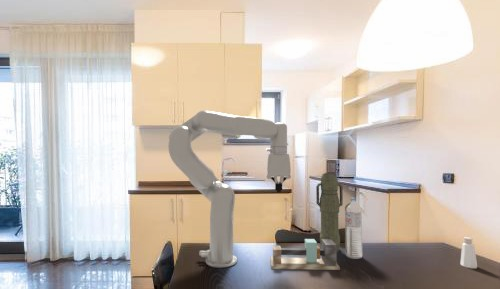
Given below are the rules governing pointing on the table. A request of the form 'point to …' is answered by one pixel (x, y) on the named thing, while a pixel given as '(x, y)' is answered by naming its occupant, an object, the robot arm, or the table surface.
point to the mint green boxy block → (311, 250)
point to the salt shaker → (468, 254)
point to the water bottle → (353, 230)
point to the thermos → (329, 207)
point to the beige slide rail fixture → (300, 263)
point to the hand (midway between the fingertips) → (278, 192)
